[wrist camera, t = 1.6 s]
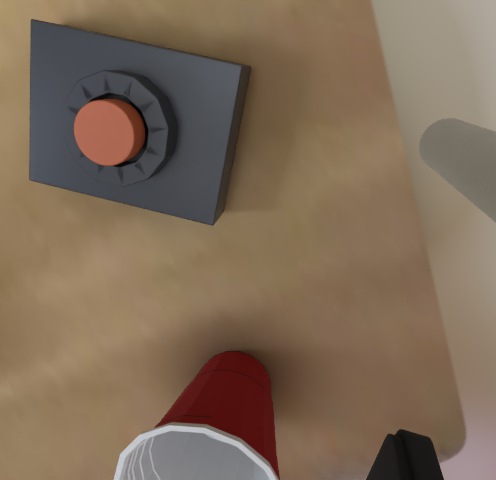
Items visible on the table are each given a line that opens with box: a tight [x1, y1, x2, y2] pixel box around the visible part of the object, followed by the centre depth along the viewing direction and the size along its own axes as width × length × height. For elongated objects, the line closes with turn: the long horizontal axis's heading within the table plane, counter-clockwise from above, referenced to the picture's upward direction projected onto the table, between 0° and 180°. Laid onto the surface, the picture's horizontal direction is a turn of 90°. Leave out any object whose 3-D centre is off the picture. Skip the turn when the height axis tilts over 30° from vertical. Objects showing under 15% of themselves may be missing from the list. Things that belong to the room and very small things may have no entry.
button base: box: [29, 19, 251, 226], centre depth 28 cm, size 13×10×5 cm
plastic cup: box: [114, 352, 280, 480], centre depth 31 cm, size 11×11×12 cm
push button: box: [74, 99, 145, 166], centre depth 25 cm, size 4×4×2 cm
